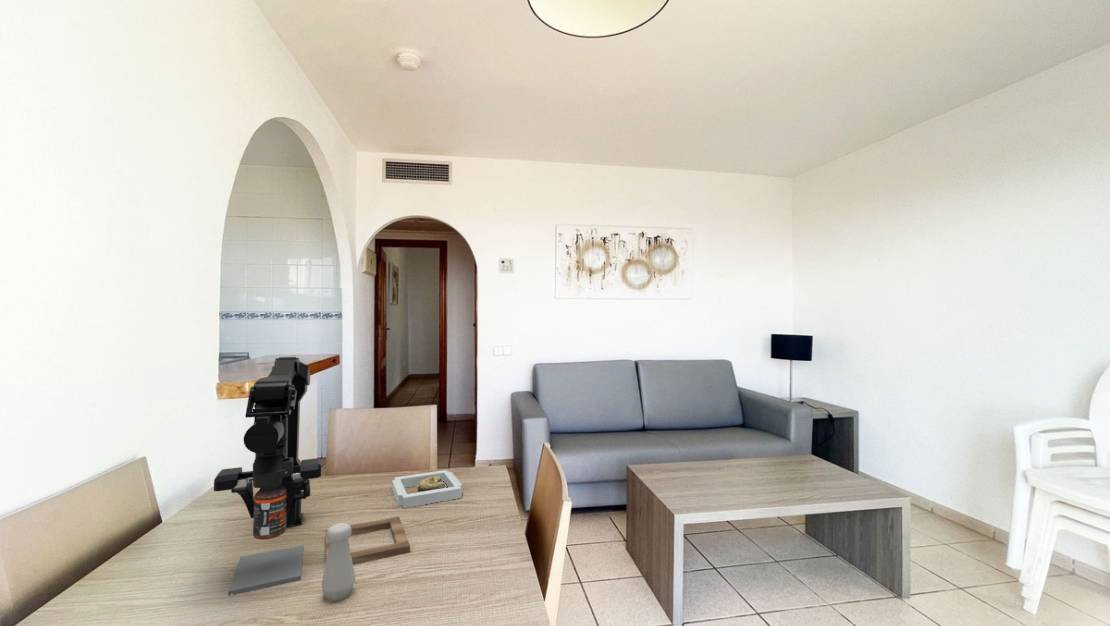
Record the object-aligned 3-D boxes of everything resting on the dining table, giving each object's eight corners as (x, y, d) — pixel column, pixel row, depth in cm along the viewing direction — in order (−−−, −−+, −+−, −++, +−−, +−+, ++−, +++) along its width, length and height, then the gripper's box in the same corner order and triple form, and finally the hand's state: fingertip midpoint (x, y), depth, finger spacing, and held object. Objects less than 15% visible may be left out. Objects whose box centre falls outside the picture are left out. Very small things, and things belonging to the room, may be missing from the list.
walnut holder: (325, 535, 110) (325, 529, 110) (398, 522, 117) (399, 516, 117) (325, 570, 94) (325, 563, 95) (409, 552, 102) (410, 545, 102)
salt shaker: (329, 586, 89) (330, 519, 89) (359, 584, 89) (360, 518, 90) (315, 604, 83) (317, 533, 83) (348, 603, 84) (349, 532, 84)
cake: (421, 503, 132) (419, 485, 131) (412, 492, 140) (411, 475, 140) (454, 494, 137) (452, 476, 137) (443, 484, 145) (442, 467, 145)
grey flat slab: (240, 560, 98) (240, 557, 98) (303, 548, 104) (303, 544, 104) (227, 595, 86) (228, 591, 86) (300, 579, 91) (300, 575, 91)
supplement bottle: (270, 542, 91) (271, 486, 91) (245, 539, 92) (246, 483, 93) (293, 529, 97) (293, 476, 97) (269, 526, 98) (270, 474, 98)
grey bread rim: (390, 487, 142) (391, 477, 142) (449, 478, 150) (449, 469, 150) (399, 509, 125) (399, 498, 125) (464, 497, 134) (464, 487, 134)
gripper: (208, 456, 84) (206, 541, 84) (321, 444, 92) (320, 521, 92) (220, 441, 94) (219, 517, 93) (321, 432, 102) (320, 501, 102)
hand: (270, 514), depth 95 cm, fingers closed on supplement bottle, 6 cm apart
